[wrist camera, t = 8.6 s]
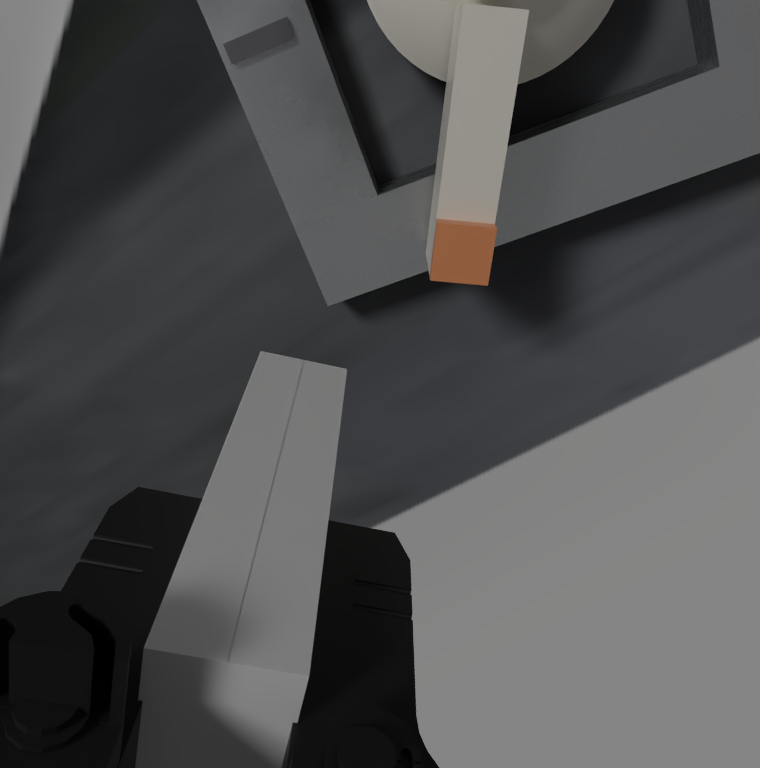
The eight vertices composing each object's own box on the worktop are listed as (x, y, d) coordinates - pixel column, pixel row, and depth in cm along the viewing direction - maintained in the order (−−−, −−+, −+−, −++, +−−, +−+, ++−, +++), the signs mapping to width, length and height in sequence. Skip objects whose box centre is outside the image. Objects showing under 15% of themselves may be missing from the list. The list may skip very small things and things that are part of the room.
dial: (369, -227, 24) (363, -303, 18) (641, -197, 24) (715, -262, 19) (339, 228, 30) (328, 271, 25) (552, 247, 31) (588, 294, 25)
